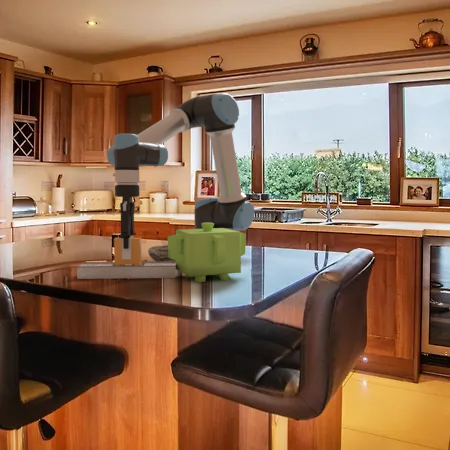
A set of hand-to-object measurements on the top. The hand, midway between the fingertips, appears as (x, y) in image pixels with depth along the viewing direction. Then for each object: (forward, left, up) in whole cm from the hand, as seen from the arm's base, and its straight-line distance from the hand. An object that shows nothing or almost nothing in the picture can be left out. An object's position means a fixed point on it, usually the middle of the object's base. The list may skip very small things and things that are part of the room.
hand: (128, 257), depth 151 cm
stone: (-11, -26, -6) cm, 29 cm away
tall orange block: (0, 0, -6) cm, 6 cm away
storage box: (-25, +4, -6) cm, 26 cm away
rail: (0, 0, -6) cm, 6 cm away
